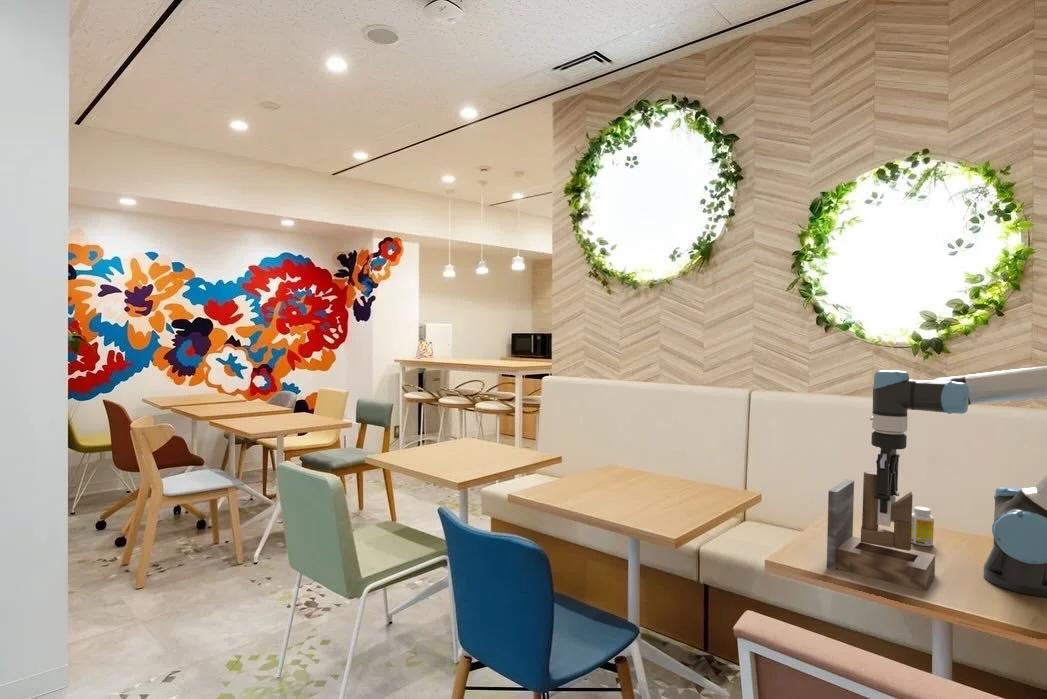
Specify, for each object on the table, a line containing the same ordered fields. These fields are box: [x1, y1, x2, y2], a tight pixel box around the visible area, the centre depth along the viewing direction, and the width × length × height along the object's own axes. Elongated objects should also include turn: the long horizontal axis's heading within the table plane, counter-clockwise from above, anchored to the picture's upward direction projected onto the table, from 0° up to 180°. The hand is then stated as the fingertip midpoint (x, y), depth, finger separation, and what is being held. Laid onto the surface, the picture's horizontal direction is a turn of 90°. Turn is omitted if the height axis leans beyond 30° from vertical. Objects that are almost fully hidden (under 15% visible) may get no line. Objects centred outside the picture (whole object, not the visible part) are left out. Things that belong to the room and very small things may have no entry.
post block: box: [826, 479, 936, 592], centre depth 149 cm, size 21×16×20 cm
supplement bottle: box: [911, 506, 935, 547], centre depth 168 cm, size 6×6×10 cm
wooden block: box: [860, 470, 913, 551], centre depth 148 cm, size 4×11×18 cm, turn 58°
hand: (886, 522), depth 148 cm, fingers closed on wooden block, 4 cm apart
